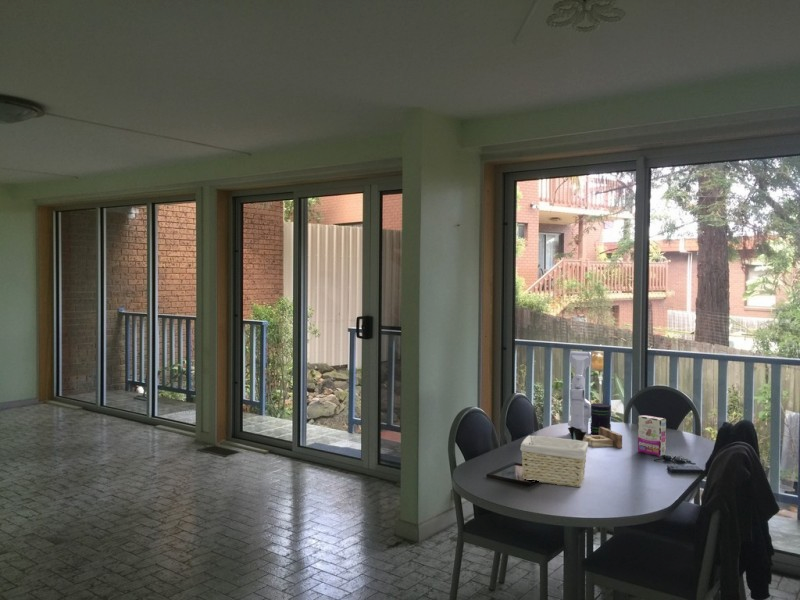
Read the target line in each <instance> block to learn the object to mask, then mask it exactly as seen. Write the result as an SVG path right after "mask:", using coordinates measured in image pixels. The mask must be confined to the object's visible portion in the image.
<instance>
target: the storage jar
mask: <svg viewBox="0 0 800 600" xmlns="http://www.w3.org/2000/svg"><path fill="white" fill-rule="evenodd" d="M611 415H612V405H611V404H607V403H599V402H598V403H597V402H596V403H595V402H594V403H591V417H590V418H591V420H590V428H589V429H590V435H591V434H592V435H599V427H604V428H606V429H609V430H611V431H612V426H611V417H612V416H611Z"/></svg>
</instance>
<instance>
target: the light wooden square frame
mask: <svg viewBox="0 0 800 600" xmlns="http://www.w3.org/2000/svg"><path fill="white" fill-rule="evenodd" d="M588 435H589V436H584V438H583V441H584V442H588V446H590V447H592V448H604V446H607V447H614V446H613V440H612V439H610V438H608V437H606V436H603V435H591V434H588Z"/></svg>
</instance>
